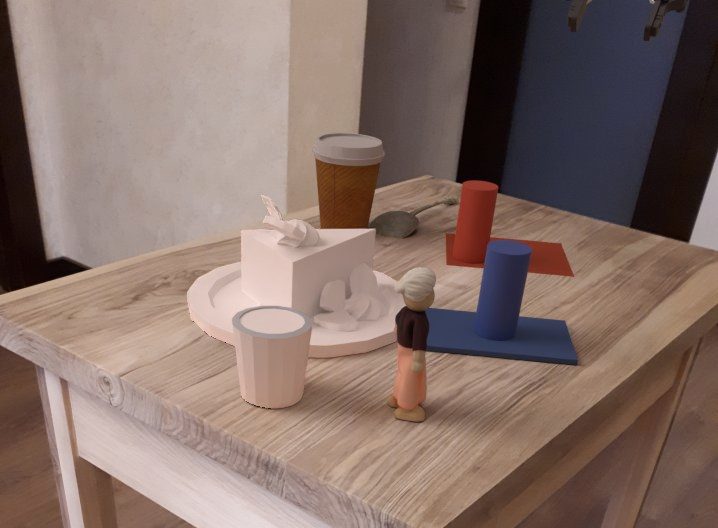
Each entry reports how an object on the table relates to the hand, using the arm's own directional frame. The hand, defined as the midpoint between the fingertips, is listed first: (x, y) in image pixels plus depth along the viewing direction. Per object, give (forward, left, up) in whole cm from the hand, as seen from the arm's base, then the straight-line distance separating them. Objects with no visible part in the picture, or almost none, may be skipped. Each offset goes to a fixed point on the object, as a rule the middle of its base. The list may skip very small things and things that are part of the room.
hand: (609, 31), depth 92 cm
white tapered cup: (+32, +46, -26) cm, 62 cm away
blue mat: (+11, +29, -26) cm, 41 cm away
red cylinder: (+13, +6, -26) cm, 29 cm away
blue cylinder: (+11, +29, -26) cm, 41 cm away
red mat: (+8, +3, -26) cm, 28 cm away
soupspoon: (+19, -9, -26) cm, 34 cm away
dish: (+32, +26, -26) cm, 49 cm away
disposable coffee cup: (+30, -1, -26) cm, 40 cm away
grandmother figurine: (+20, +46, -26) cm, 57 cm away
